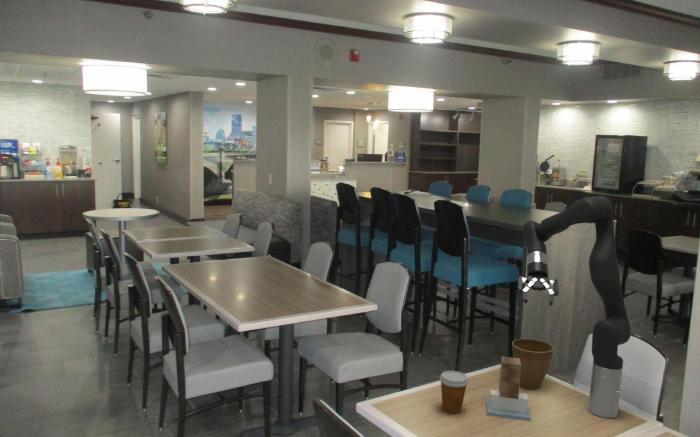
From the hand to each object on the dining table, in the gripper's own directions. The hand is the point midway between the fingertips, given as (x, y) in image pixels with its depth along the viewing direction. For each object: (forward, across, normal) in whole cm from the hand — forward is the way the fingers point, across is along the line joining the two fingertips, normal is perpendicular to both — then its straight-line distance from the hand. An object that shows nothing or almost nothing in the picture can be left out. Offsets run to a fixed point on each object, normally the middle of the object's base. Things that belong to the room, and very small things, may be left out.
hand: (538, 303), depth 201 cm
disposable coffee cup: (+40, -28, +8) cm, 50 cm away
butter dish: (+37, -10, +10) cm, 40 cm away
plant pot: (+20, 0, +28) cm, 34 cm away
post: (+33, -10, +6) cm, 35 cm away
